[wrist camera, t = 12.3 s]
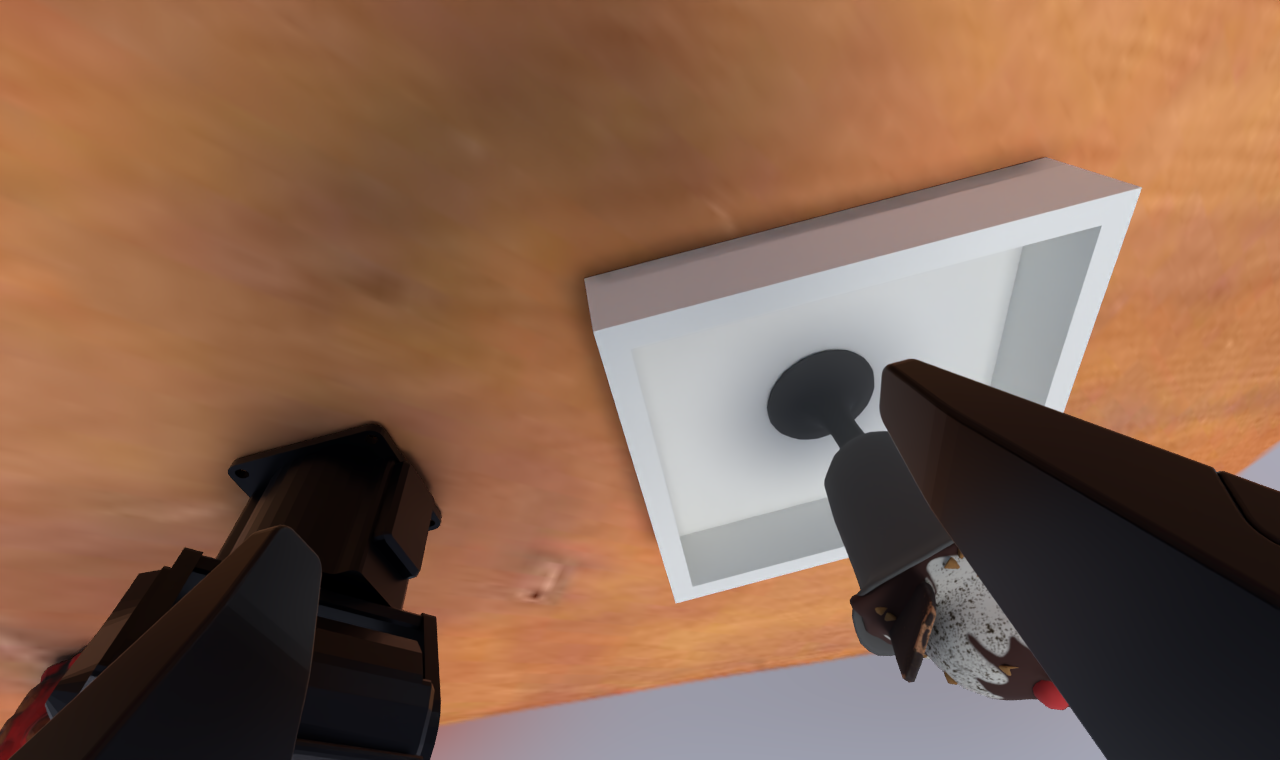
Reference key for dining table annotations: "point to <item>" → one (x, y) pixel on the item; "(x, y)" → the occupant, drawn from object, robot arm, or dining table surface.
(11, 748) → the red fruit with stem
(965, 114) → the dining table surface
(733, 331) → the tray
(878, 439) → the sundae
